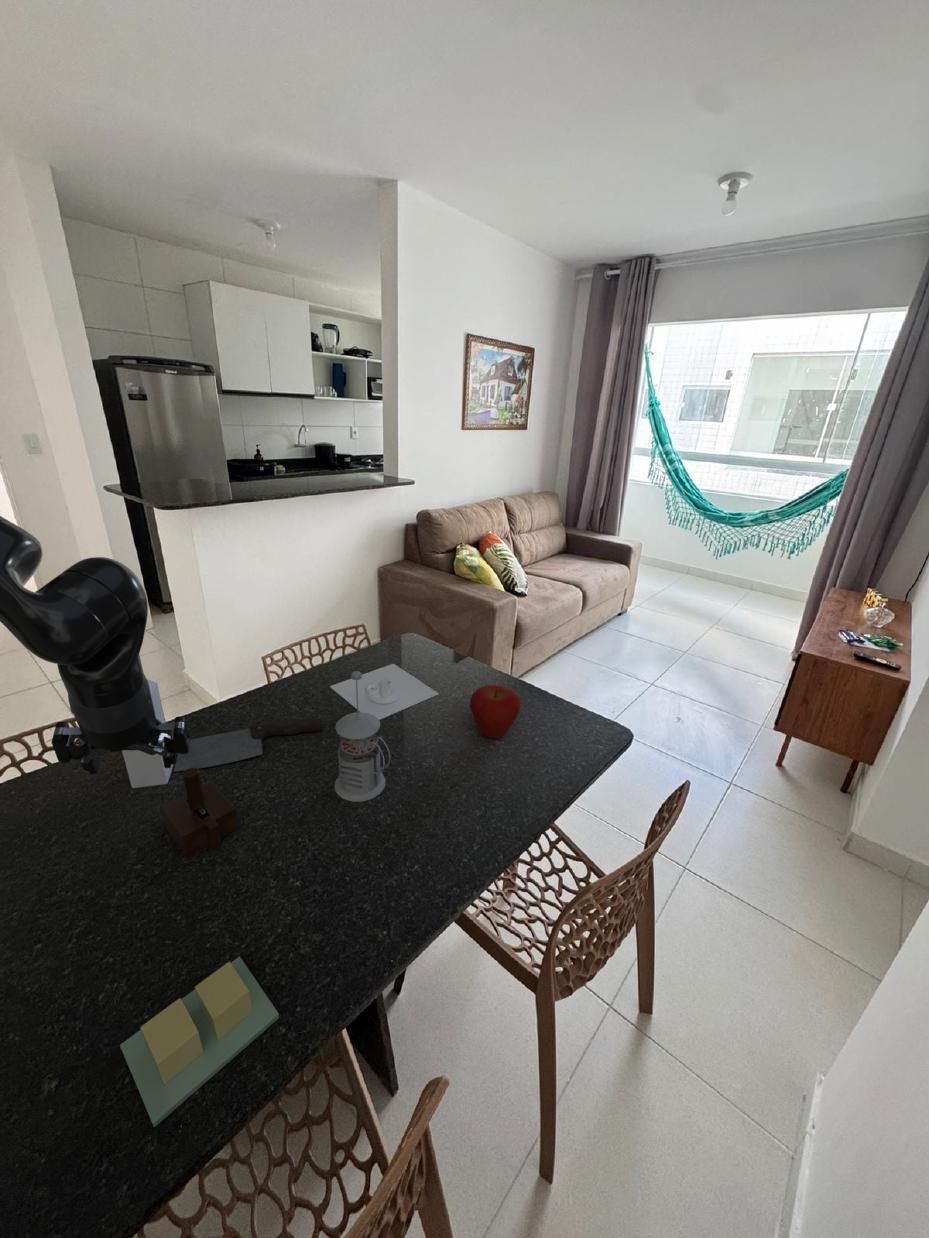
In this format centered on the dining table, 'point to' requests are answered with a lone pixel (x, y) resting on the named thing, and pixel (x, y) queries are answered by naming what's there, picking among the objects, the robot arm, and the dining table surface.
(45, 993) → the dining table surface
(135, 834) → the dining table surface
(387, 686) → the teacup and saucer
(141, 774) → the milk
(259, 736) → the cleaver
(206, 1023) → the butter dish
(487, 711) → the apple
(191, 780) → the wood-handled utensil
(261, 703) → the dining table surface
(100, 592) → the robot arm
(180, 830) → the knife block
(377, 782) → the french press
